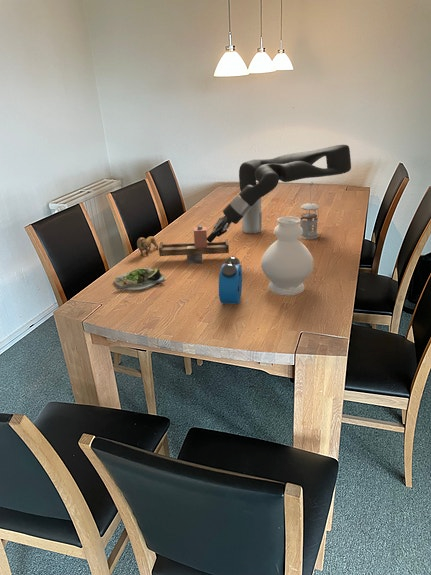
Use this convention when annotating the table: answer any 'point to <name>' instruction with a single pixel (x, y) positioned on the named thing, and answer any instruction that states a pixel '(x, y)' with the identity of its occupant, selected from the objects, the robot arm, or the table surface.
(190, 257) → the beam
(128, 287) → the salad plate
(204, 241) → the rider
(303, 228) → the french press
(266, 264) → the decorative vase
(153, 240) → the lion figurine
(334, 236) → the table surface
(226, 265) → the alarm clock
